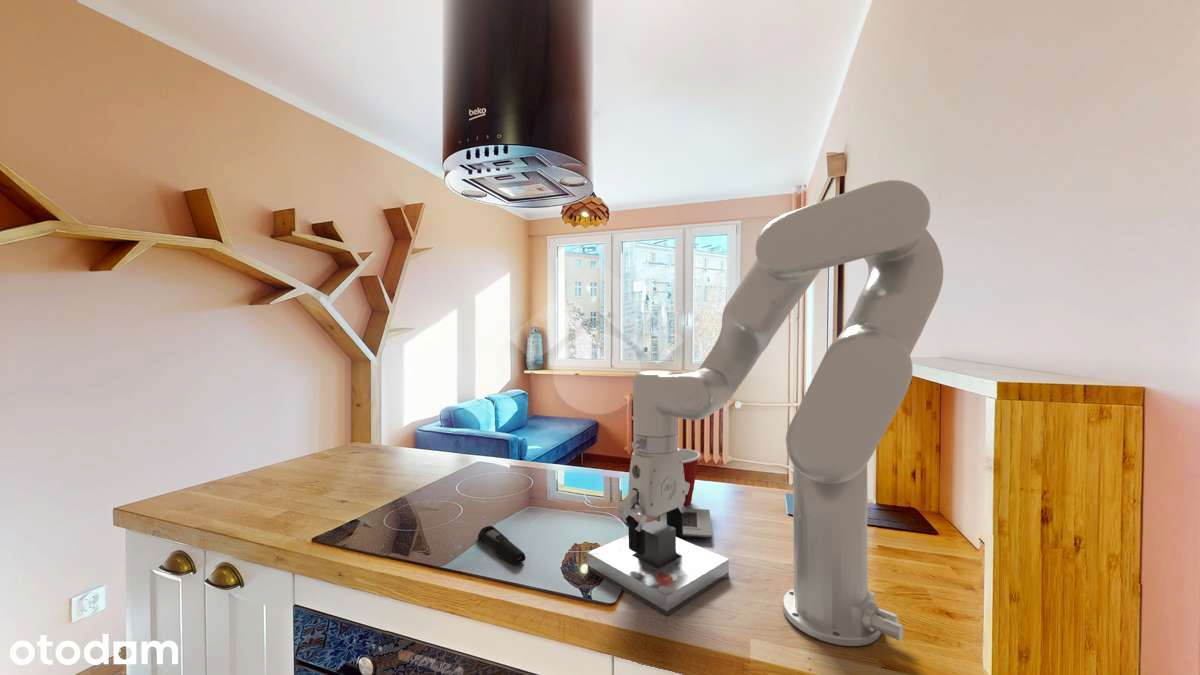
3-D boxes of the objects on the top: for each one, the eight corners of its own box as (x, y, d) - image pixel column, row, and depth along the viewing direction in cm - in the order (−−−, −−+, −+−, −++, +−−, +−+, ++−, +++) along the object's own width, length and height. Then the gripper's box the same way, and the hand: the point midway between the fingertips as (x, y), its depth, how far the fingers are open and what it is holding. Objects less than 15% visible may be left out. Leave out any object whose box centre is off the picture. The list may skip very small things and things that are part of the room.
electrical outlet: (712, 546, 89) (712, 533, 89) (658, 542, 91) (658, 530, 91) (709, 519, 102) (709, 508, 102) (662, 516, 104) (661, 505, 104)
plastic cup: (651, 495, 115) (650, 448, 115) (692, 493, 116) (692, 446, 116) (661, 512, 104) (660, 460, 104) (707, 510, 106) (706, 458, 106)
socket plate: (728, 576, 77) (728, 555, 77) (666, 616, 66) (666, 592, 66) (649, 540, 90) (649, 522, 90) (587, 569, 80) (587, 548, 80)
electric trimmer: (511, 573, 80) (511, 555, 80) (476, 541, 92) (475, 525, 92) (530, 566, 82) (530, 549, 82) (493, 535, 94) (493, 520, 94)
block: (676, 568, 78) (675, 528, 78) (658, 578, 75) (658, 536, 75) (655, 558, 82) (655, 520, 82) (638, 568, 79) (637, 527, 78)
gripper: (636, 457, 70) (637, 568, 70) (703, 438, 81) (704, 534, 81) (603, 448, 75) (604, 551, 75) (671, 431, 87) (672, 521, 87)
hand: (656, 542), depth 78 cm, fingers open, 9 cm apart
